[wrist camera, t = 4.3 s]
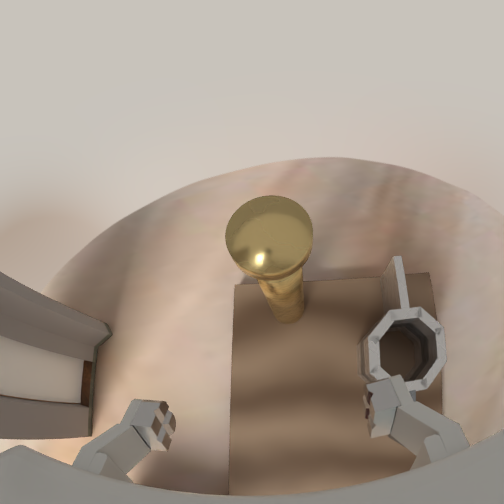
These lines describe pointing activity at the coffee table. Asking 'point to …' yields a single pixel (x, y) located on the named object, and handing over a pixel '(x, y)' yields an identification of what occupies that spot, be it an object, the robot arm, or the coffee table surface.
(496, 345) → the coffee table surface
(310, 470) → the walnut board
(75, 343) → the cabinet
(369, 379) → the hinge
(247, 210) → the hinge pin
